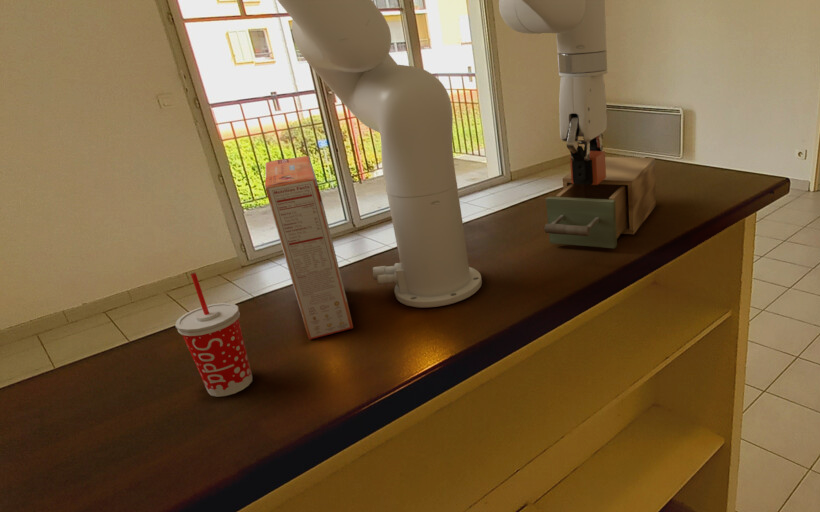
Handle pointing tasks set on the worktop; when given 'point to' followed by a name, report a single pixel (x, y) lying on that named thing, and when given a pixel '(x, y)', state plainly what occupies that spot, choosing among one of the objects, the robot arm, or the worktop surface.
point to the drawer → (588, 215)
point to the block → (595, 166)
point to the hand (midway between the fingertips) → (588, 178)
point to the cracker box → (307, 245)
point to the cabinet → (631, 186)
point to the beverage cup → (216, 345)
